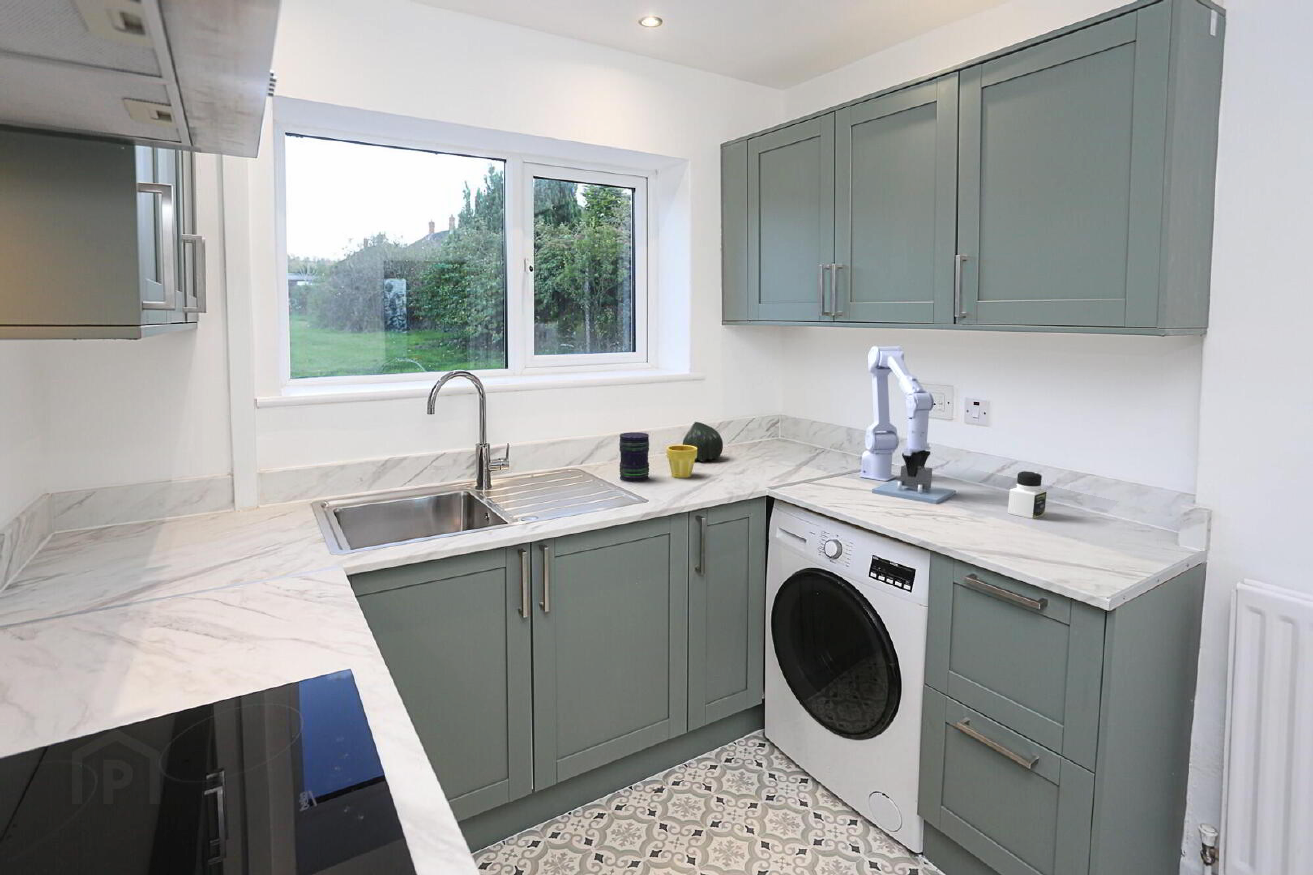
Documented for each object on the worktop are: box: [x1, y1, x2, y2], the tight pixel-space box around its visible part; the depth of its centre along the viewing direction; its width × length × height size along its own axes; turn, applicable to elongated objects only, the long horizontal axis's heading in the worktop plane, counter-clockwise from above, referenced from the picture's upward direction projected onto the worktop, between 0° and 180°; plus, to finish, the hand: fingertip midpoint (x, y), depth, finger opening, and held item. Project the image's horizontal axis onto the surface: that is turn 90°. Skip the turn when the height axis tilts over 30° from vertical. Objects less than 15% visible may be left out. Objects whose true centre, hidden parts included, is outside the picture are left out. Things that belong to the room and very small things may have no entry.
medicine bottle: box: [1007, 470, 1047, 520], centre depth 210 cm, size 7×7×12 cm
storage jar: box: [619, 432, 650, 483], centre depth 250 cm, size 10×10×15 cm
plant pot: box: [666, 444, 697, 479], centre depth 256 cm, size 10×10×10 cm
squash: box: [682, 421, 724, 462], centre depth 282 cm, size 14×15×15 cm
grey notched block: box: [899, 464, 933, 490], centre depth 233 cm, size 8×4×6 cm, turn 50°
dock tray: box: [871, 479, 957, 505], centre depth 233 cm, size 20×16×4 cm
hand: (914, 475), depth 233 cm, fingers closed on grey notched block, 4 cm apart
